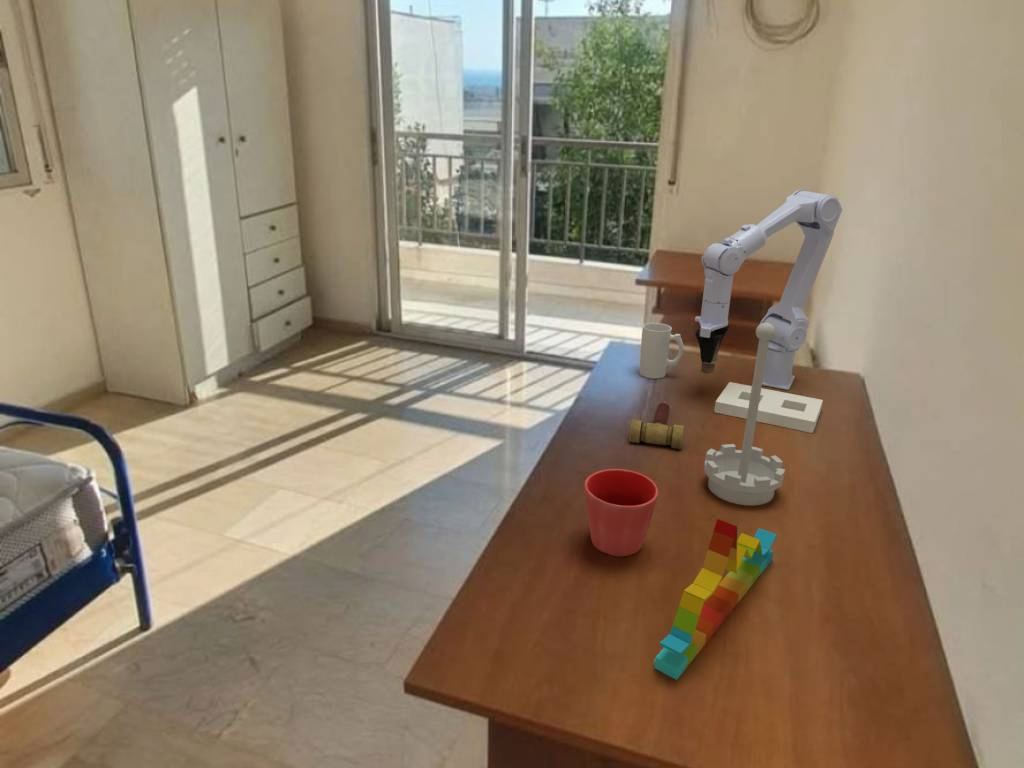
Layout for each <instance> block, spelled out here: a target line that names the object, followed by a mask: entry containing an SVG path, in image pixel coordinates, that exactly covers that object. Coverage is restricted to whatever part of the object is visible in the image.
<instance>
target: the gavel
mask: <svg viewBox="0 0 1024 768" xmlns="http://www.w3.org/2000/svg"><path fill="white" fill-rule="evenodd" d="M656 408H657V409H656V411H655V415H654V418H653V421H652V422H643V420H641V419H635V418H633V419H632V420H631V422H630V429H629V435H628V436H629V438H628V439H629V442H630V443H634V444H640V443H641V442H642V443H643V442H644V443H645V444H652V445H658V446H665V447H666V446H670V447H671V449H674V450H675V449H676V450H681V449H682V447H683V442H684V433H685V426H684V425H681V424H673V426H670V425H668V424H667V420H668V417H669V414H670V405H669V404H668V403H667V402H666V401H663V402H660V403H659V404H658V405H657V407H656Z"/></svg>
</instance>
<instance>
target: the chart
mask: <svg viewBox="0 0 1024 768" xmlns="http://www.w3.org/2000/svg"><path fill="white" fill-rule="evenodd" d="M776 539H777V534H776V533H773V532H771V531H769V530H765V529H763V528H760V527H758V529H757V531H756V533H755V535H754V536H750V535H748V534H745V533H743V532H741V533H740V535H739V537H738V526H737V525H734V524H732V523H729V522H727V521H724V520H721V519H719V518H717V519H716V521H715V525H714V529H713V531H712V535H711V538H710V542H709V545H708V548H707V551H706V555H705V559H704V562H703V566H702V568H701V569H700V571H699V573H698V574H697V576H696V577H695V579H694V580H693V582H692V583H691V584H690V585H689V586H688V587H686V588H685V589H684V590H683V593H682V595H681V599H680V601H679V604H678V608H677V611H676V613H675V617H674V620H673V623H672V626H671V629H670V633H669V634H668V635H667V636H666V637H664V639H662V640H661V641H660V642H659V646H661V647H663V648H662V649H661V650H660V651H659V653H658V654H657V655H656V656H655V658H654V660H653V663H654V664H653V665H654V666H653V667H654V668H653V669H655V670H657V671H659V672H661V673H662V674H664V675H666V676H668V677H670V678H672V679H674V680H676V681H677V680H678V679H679V678H680V677H681V675H683V673H684V672H685V670H687V668H688V667H689V665H690V664H691V663H692V662H693V660H694V659H695V658H696V656H698V654H699V653H700V651H701V650H702V649H703V647H704V646H705V645H706V644H707V643H708V642H709V640H710V639H711V638H712V636H713V635H714V634H715V633H716V631H717V630H718V629H719V628H720V626H721V625H722V624H723V623H724V621H725V620H726V618H727V617H728V616H729V615H730V614H731V612H733V610H734V609H735V608H736V606H737V605H739V603H740V601H741V600H742V599H743V597H744V596H745V595H746V594H747V593H748V591H749V590H750V588H751V587H752V586H753V585H754V584H755V582H756V581H757V580H758V579H759V578H760V575H762V574H763V572H765V569H767V567H768V566H769V564H771V562H772V561H773V556H774V550H772V549H771V548H772V545H773V544H774V543H775V540H776ZM725 570H726V571H728V573H727V574H726V575H725V577H724V574H725ZM723 577H724V578H723Z"/></svg>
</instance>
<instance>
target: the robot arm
mask: <svg viewBox="0 0 1024 768" xmlns="http://www.w3.org/2000/svg"><path fill="white" fill-rule="evenodd" d="M840 202H841V201H840V200H839V198H838V196H836V195H835V194H825V193H821V192H820V193H819V192H813V191H808V190H805V189H798V190H796V191H794V192H793V193H792V194H790V195H789V196H786V199H785V201H784V203H783V204H782V205H781V206H779V207H778V208H777V209H775V210H774V211H773V212H772V213H770V214H768V216H767V217H765V218H764V219H763V220H761V221H760V222H759V223H758V224H753V223H749V224H743V225H742V226H741V227H740V229H739V230H737V232H734V234H732V235H731V236H729V237H726V238H724V239H723V241H722V242H721V243H716V242H715V243H713V244H710V245H709V246H707V247H706V249H705V251H704V253H703V255H701V259H700V260H701V264H702V266H703V268H704V272H703V273H704V274H703V275H704V276H705V278H704V287H703V295H702V303H701V312H700V316H699V315H697V316H695V318H694V321H695V322H698V323H699V326H700V329H697V330H696V331H695V337H696V339H697V342H698V346H699V353H700V358H701V361H702V362H705V363H711V362H712V360H713V357H714V354H715V350H716V347H717V345H718V342H719V341H720V342H719V349H718V352H719V351H720V348H721V344H722V342H723V339H724V337H725V335H726V334H727V332H728V331H729V329H730V326H729V313H730V304H731V296H732V289H733V283H734V282H733V281H734V276H735V273H737V272H738V271H739V269H740V268H741V266H742V264H743V263H744V262H745V260H746V259H747V258H749V257H751V256H752V255H753V254H755V253H756V252H757V251H759V250H760V249H762V248H763V247H764V246H765V244H766V241H767V240H766V239H767V238H768V237H771V236H772V235H774V234H776V233H778V232H779V231H780V230H783V229H785V228H786V227H788V226H790V225H791V224H793V223H796V224H797V226H798V227H799V228H801V230H802V233H803V234H804V240H803V242H802V245H801V247H800V248H799V252H798V255H797V257H796V260H795V262H794V265H793V267H792V269H791V273H790V275H789V278H788V279H787V283H786V285H785V288H784V291H783V293H782V296H781V298H780V300H779V302H778V303H776V304H775V305H773V306H771V307H769V308H768V310H767V313H766V314H765V315H764V317H763V318H762V319H761V321H760V323H759V325H760V324H762V323H770V324H771V325H773V327H774V328H775V335H774V337H773V338H772V339H771V340H769V345H768V351H767V357H766V363H765V369H764V375H763V382H762V386H766V387H770V388H775V389H779V390H786V391H788V390H790V388H791V386H792V384H793V382H794V380H795V375H793V374H792V373H793V368H794V363H795V356H796V351H799V349H800V348H801V347H803V345H804V343H805V342H806V339H807V333H808V332H807V331H808V330H807V329H808V327H809V324H810V320H809V319H808V317H807V315H806V313H805V312H804V309H805V307H806V304H807V302H808V300H809V297H810V295H811V292H812V289H813V286H814V284H815V282H816V280H817V277H818V274H819V271H820V270H821V268H822V264H823V262H824V259H825V257H826V254H827V252H828V249H829V248H830V244H831V242H832V240H833V237H834V234H835V230H836V229H835V228H836V227H837V223H838V221H839V219H840V216H841V214H842V212H843V209H842V206H841V203H840ZM701 361H700V362H701ZM702 362H701V363H702Z"/></svg>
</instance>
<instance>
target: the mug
mask: <svg viewBox="0 0 1024 768" xmlns="http://www.w3.org/2000/svg"><path fill="white" fill-rule="evenodd" d="M641 330H642V331H641V344H640V358H639V359H640V360H639V374H640V376H642V377H644V378H647V379H652V380H653V379H654V380H655V379H657V380H658V379H662V378H665V377H666V375H667V374H666V373H667V368H668V367H677V365H678V364H679V362H680V360H681V358H682V356H683V354H684V349H685V348H684V343H683V339H682V337H681V334H680V333H675V334H672V326H670V325H668V324H665V323H662V322H661V323H659V322H648V323H644V324H643V325H642V329H641ZM672 341H675V342H676V343H677V345H678V352H677V355H676V357H675V358H674V359H669V349H670V343H671V342H672Z"/></svg>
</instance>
